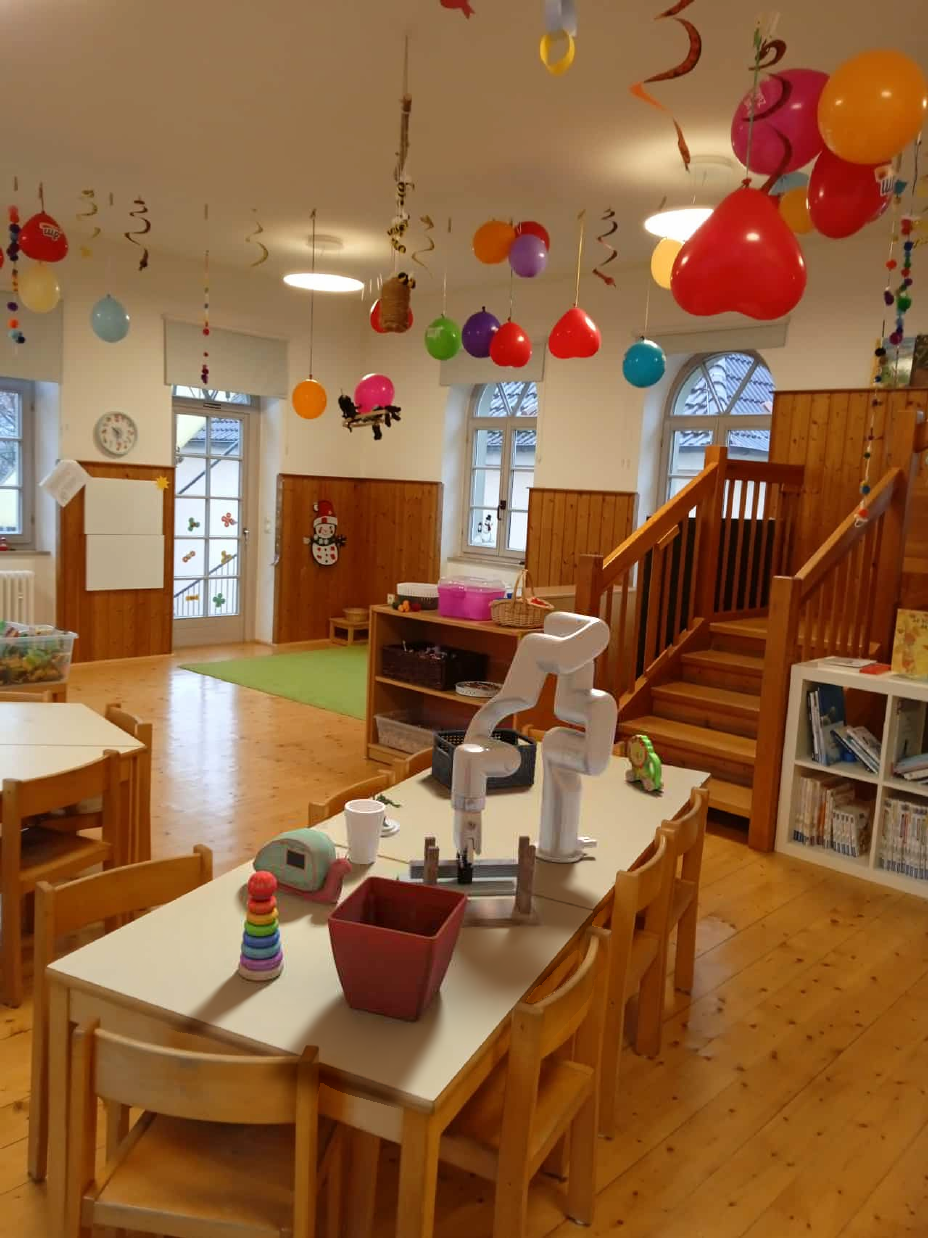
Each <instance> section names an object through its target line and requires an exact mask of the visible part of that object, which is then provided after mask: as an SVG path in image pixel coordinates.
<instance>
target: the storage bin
mask: <svg viewBox="0 0 928 1238" xmlns="http://www.w3.org/2000/svg"><path fill="white" fill-rule="evenodd" d="M467 730H468V729H463V730H462V729H461V730H460V729H459V730H442V731H441V730H439V731H435V732H434V733H433V746H432V756H431V757H432V758H431V772H430V773H431V775H432V777H434V778H436V779H437V780H439V782H441V783H442V784H444V785H445V786H446V787H448V788H449V789H451V790H452V777H453V760H454V751H455V749H456V747H457V746H459V745H462V744H463V741H464V738H465V735H466V733H467ZM490 738H493V739H496V740H499V741H502V742H505V743H508V744H510V745H512V746H514V747H515V748H517V750H518V751H519V753H520V755H521V763H520V766H519V768H518V769H517V771H516V772H514V773H513V774H511V775H509V776H505V777H488V778H487V780H486V790H488V789H489V790H490V789H491V790H492V789H501V788H503V789H504V788H515V787H525V786H526V787H527V786H532V785H534V783H535V771H536V763H537V762H536V759H537V750H538V747H537V746H538V741H537V740H534V739H533V738H531V737H528V736H526V735H525V734H523V733H521V732H520V731H518V730H515V729H512V728H494V729H493V731H492V733H491V736H490ZM519 740H522V741H523V742H525V743H527V744H520V741H519Z"/></svg>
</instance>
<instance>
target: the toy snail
mask: <svg viewBox="0 0 928 1238" xmlns="http://www.w3.org/2000/svg"><path fill="white" fill-rule="evenodd" d="M349 850H350V847H349ZM348 855H349V851H347V852H346V854H345V857H339V852H337V853H336V846H335V844H334V842H333V840H332V839H331V838H330V836H329V835H328V834H327V833H326V834H325V833H324V832H322V831H320V830H317V829H312V828H307V827H302V828H299V829H294V830H290V831H284V832H283V833H281V834H279V835H277V836H276V837H274V838H272V839H271V840H269V841H268V842H266V843H264V844H263V845H262V846H261V847H260V849H259V851H258V852H257V853H256V856H255V858H254V860H253V862H252V868H253V870H254V871H255V873H256V872H259V871H266V872H269V873H271V874H272V875H273V876H274V877H275V879H276V883H277V888H276V890H277V891H280V892H283V893H285V894H286V893H287V894H289V895H292V896H295V897H297V898H300V899H303V900H306V901H310V902H313V903H316V904H321V905H327V904H335V903H337V902H338V901H339V900H340V898H341V894H342V889H343V886H344V885H343V884H344V880H345V879H344V878H345V876H348V875H349V874H350V873H351V872H352V869H353V868H352V864H351V862H350V860H348V859H347V857H348Z"/></svg>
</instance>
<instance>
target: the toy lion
mask: <svg viewBox="0 0 928 1238" xmlns="http://www.w3.org/2000/svg"><path fill="white" fill-rule="evenodd" d="M626 754H627V756H628V757H627V758H628V762H629V763H630V764H631V769H627V770H626V772H625V779H626V781H627V780H628V781H627V782H629V783H630V782H634V781H638V780H640V781H639V782H642V781H641V780H643V782H644V783H643V785H644V790H648V791H647V792H653V791H654V790H656V789H658V790H657V791H662V790H663V789H664V787H665V782H664V780H663V779H662V773H663V771H662V770H663V769H662V764H661V759H660V758H659V756H658V755H657V754H656V753H655V751H654V747H653V744H652V742H651V740H649V738H648V736H647V735H642V734H636V735H634V736H631V737H630V739H629V741H627V749H626ZM651 763H652V764H651ZM651 765H652V766H653V770H652V769H651Z"/></svg>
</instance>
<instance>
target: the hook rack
mask: <svg viewBox="0 0 928 1238" xmlns="http://www.w3.org/2000/svg"><path fill="white" fill-rule="evenodd" d="M530 840H531V838H530V837H529V835H522V836H521V835H519V836H518V847H517V848H518V849H517V856H518V858H517V864H518V869H517V883H516V894H515V898H492V899H491V898H487V899H486V898H485V899H484V898H483V899H482V898H480V899H467V903H466V908H465V913H464V917H463V921H462V925H461V927H485V926H486V927H489V926H491V927H492V926H493V927H496V926H495V925H498V926H527V925H526V924H535V925H540V920H541V919H540V915H539V914H538V911H537V910H536V909H535V907H534V905H533V903H532V897H533V882H534V881H533V880H534V870H535V869H534V868H535V866H536V865H535V864H536V856H535V854H536V847H535V845H533V844H531V845H530V842H531V841H530ZM423 857H424V858H423V860H424V872H423V885H427V886H432V887H437V872H438V863H439V860H440V847H439V845H438V846H437V845H436V837H435V836H425V837H424V850H423ZM520 924H521V925H520ZM522 924H524V925H522Z"/></svg>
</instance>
